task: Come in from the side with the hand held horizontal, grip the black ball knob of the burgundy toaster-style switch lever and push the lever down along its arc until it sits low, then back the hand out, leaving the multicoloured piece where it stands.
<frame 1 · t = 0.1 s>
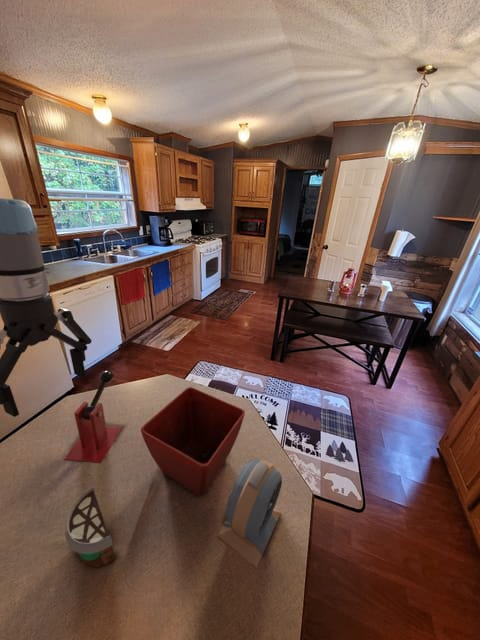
hand: (50, 392, 53), 28 cm above the kitchen counter, tool pointing down, fingers open, 13 cm apart
flower pot: (195, 465, 70), on the kitchen counter
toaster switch: (95, 445, 73), on the kitchen counter
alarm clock: (250, 524, 58), on the kitchen counter
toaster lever: (98, 393, 72), point 14 cm above the kitchen counter, hinge at 25.0°
multicoloured piece: (91, 550, 51), on the kitchen counter
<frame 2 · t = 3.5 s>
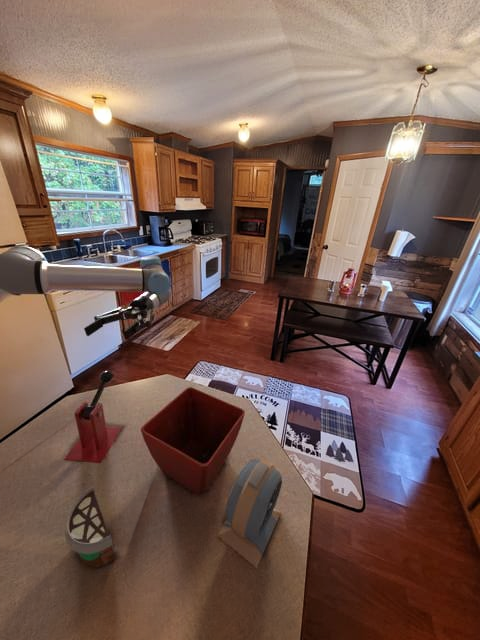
hand: (105, 333, 75), 29 cm above the kitchen counter, tool horizontal, fingers open, 13 cm apart
nothing on the kitchen counter moved.
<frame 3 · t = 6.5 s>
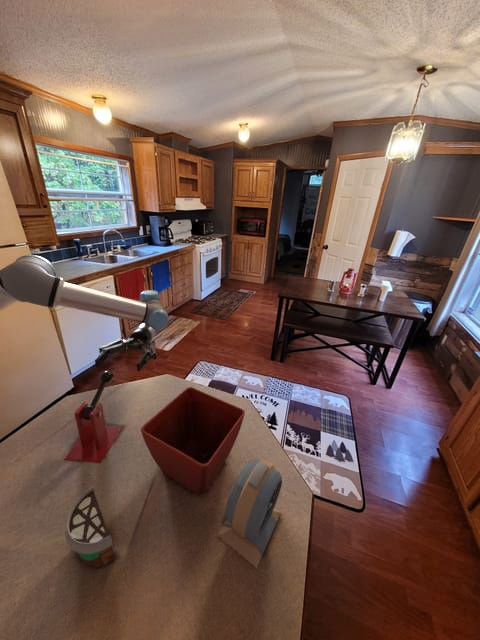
hand: (117, 365, 82), 16 cm above the kitchen counter, tool horizontal, fingers open, 13 cm apart
nothing on the kitchen counter moved.
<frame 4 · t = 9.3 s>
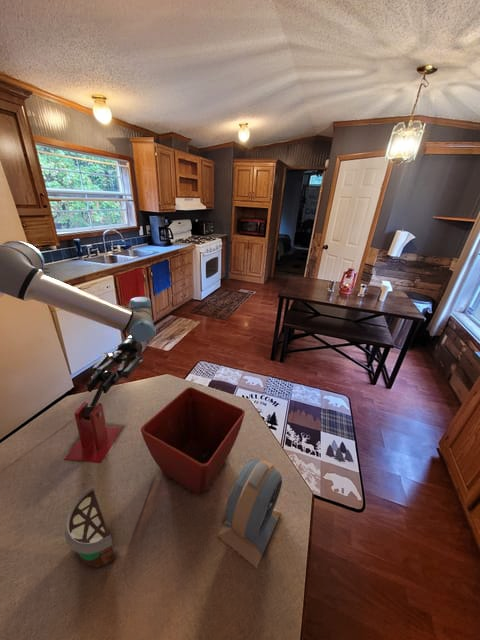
hand: (96, 388, 71), 17 cm above the kitchen counter, tool horizontal, fingers closed on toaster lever, 4 cm apart
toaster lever: (98, 393, 72), point 14 cm above the kitchen counter, hinge at 25.0°, touching gripper
everything else where it was.
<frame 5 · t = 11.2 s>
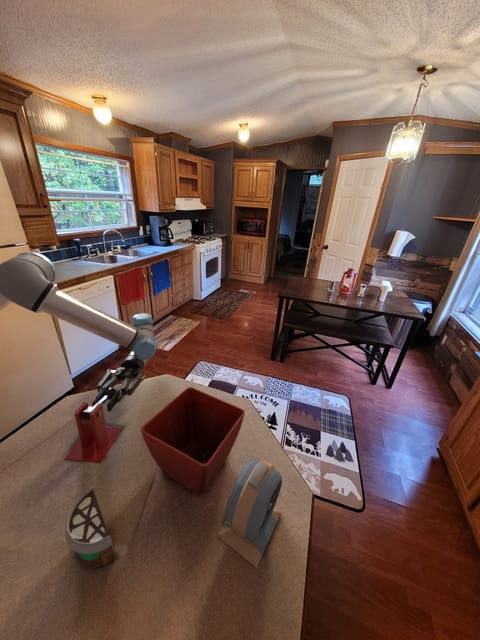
hand: (101, 407, 74), 9 cm above the kitchen counter, tool horizontal, fingers closed on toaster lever, 4 cm apart
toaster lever: (101, 402, 74), point 11 cm above the kitchen counter, hinge at -12.1°, touching gripper
everything else where it was.
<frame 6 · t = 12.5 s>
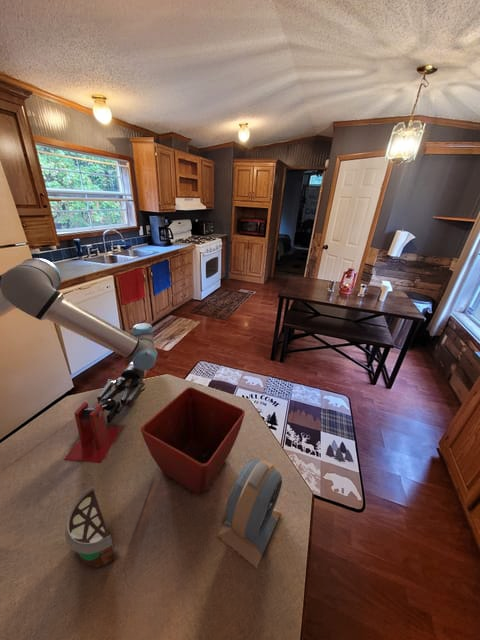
hand: (101, 419, 75), 6 cm above the kitchen counter, tool horizontal, fingers closed on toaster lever, 4 cm apart
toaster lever: (100, 408, 74), point 9 cm above the kitchen counter, hinge at -30.8°, touching gripper
everything else where it was.
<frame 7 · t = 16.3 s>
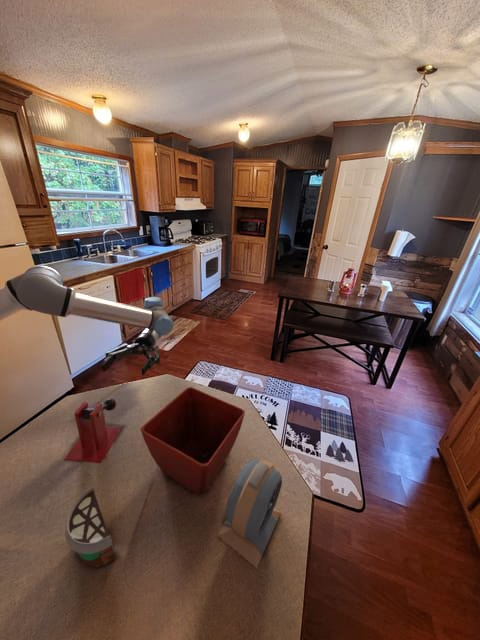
hand: (123, 370, 86), 12 cm above the kitchen counter, tool horizontal, fingers open, 13 cm apart
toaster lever: (100, 408, 74), point 9 cm above the kitchen counter, hinge at -30.5°
everything else where it was.
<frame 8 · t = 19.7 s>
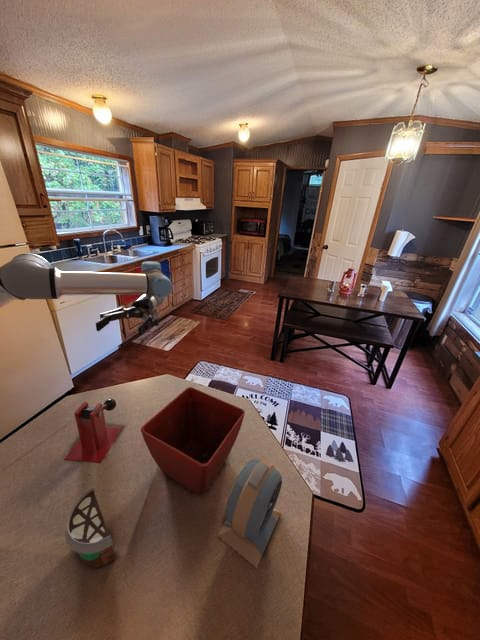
hand: (118, 329, 80), 28 cm above the kitchen counter, tool horizontal, fingers open, 13 cm apart
nothing on the kitchen counter moved.
at the end: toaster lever at -30° (first picture: +25°); multicoloured piece moved 0.2 cm from its start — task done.
